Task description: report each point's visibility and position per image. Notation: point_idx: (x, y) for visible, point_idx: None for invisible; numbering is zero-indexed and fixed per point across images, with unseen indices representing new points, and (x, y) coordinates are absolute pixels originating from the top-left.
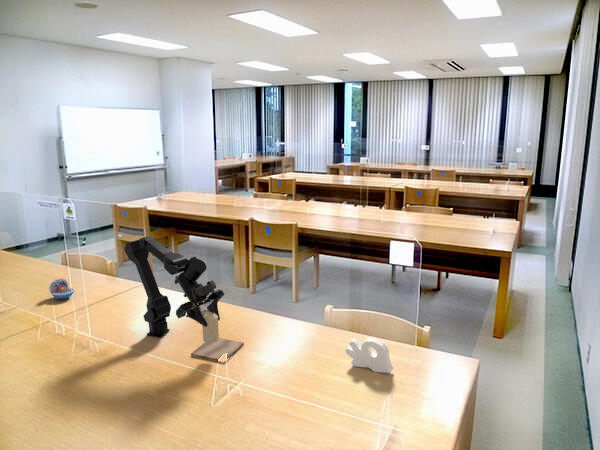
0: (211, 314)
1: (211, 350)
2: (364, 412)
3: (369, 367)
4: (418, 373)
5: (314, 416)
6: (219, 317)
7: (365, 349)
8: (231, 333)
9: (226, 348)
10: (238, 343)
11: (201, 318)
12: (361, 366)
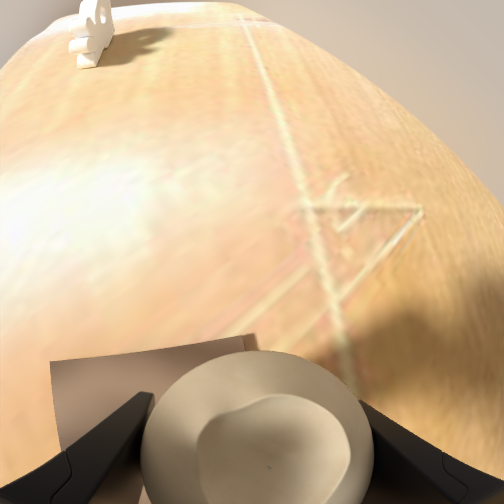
0: (224, 474)
1: None
2: (232, 33)
3: (105, 45)
4: None
5: (290, 64)
6: (132, 399)
7: (99, 16)
8: (2, 478)
9: None
10: (68, 380)
11: (433, 447)
12: (100, 54)
